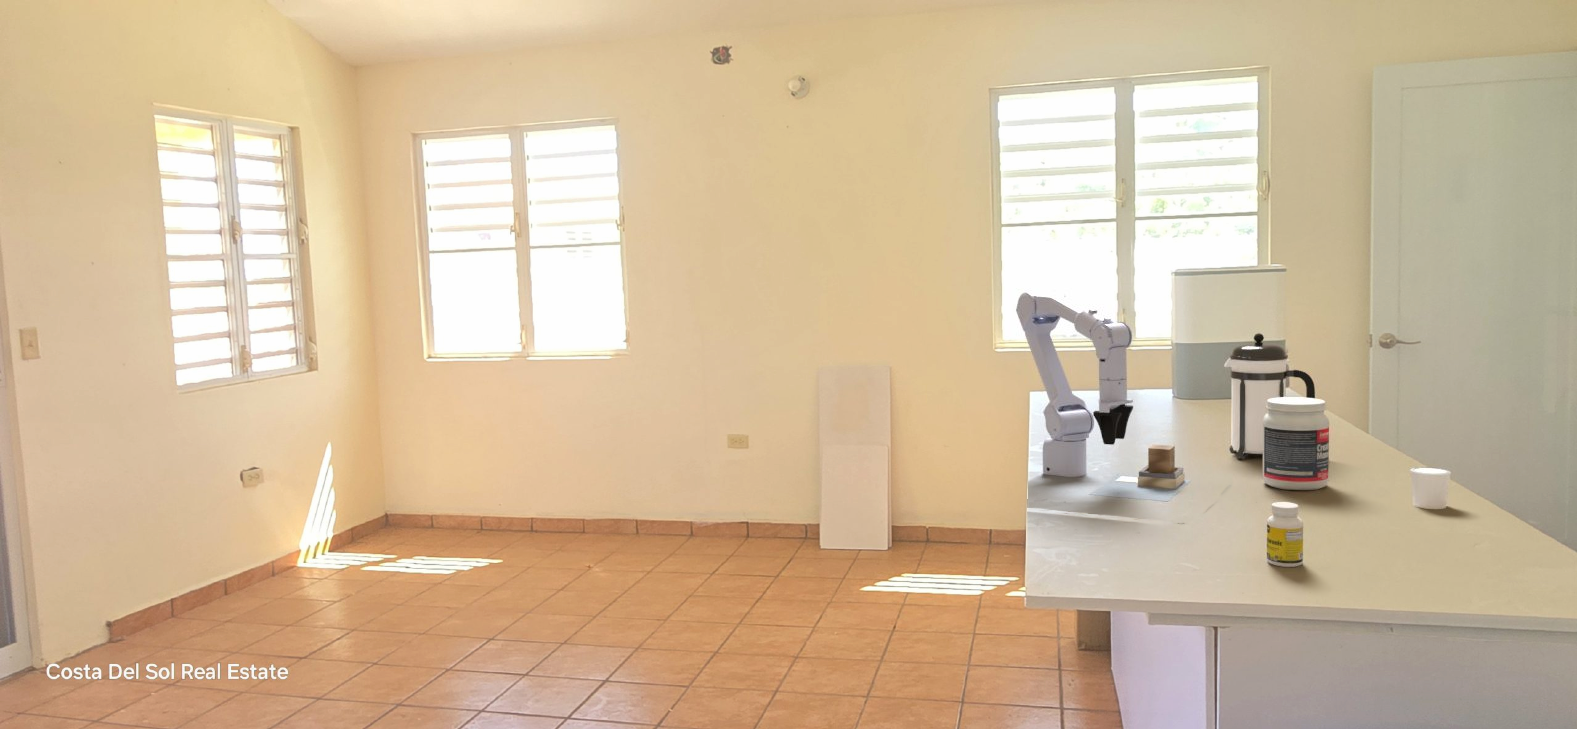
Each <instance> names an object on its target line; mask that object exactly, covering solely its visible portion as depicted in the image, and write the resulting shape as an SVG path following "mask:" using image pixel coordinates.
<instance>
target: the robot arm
mask: <svg viewBox="0 0 1577 729" xmlns="http://www.w3.org/2000/svg"><path fill="white" fill-rule="evenodd" d="M1015 311H1016V314H1017V317H1018V320H1019V322H1020V325H1021V328H1022V330H1023V331H1024V335H1025V338H1026V342H1027V344H1028V347H1029V349H1030V352H1031V355H1032V357H1033V360H1034V362H1035V366H1036V367H1037V370H1038V373H1039V376H1040V379H1041V380H1042V381H1041V382H1042V384H1043V387H1044V389H1045V392H1046V395H1047V397H1048V400H1049V402H1048V404H1047V405H1046V406H1045V407H1044V410H1043V412H1042V413H1043V415H1044V420H1045V429H1046V431H1047V433H1048V435H1049V436H1050V437H1046V438H1045V439H1044V441H1043V445H1042V475H1048V476H1051V475H1052V476H1061V477H1067V478H1068V477H1070V478H1071V477H1072V478H1074V477H1083V476H1086V475H1087V439H1089V438H1090V434H1091V433H1092V432H1093V429H1094V427H1095V420H1096V422H1097V425H1098V427H1099V430H1100V435H1101V438H1102V442H1103V445H1111V446H1113V445H1115V442H1116V439H1117V440H1119V439H1120V440H1124V439H1125V437H1126V432H1127V426H1128V422H1129V418H1130V415H1131V414H1132V412H1133V410H1134V405H1129V404H1132V403H1134V399H1133V398H1128V380H1127V379H1128V376H1127V374H1128V372H1127V366H1128V365H1127V348H1129V347H1130V345H1131V344H1132V340H1133V334H1132V330H1131V328H1130V326H1129V325H1128V324H1127V323H1126V322H1124V321H1117V322H1114V321H1112V319H1111V318H1110V317H1109V316H1108V317H1105V316H1103V315H1102V314H1100V313H1099V312H1098V310H1097V309H1096V308H1087V309H1082V308H1080V307H1079V306H1077V305H1075V304H1074V303H1073V302H1071V301H1070V300H1069V299H1067V297H1066V294H1064V293H1061V292H1060V291H1058V290H1052V291H1042V292H1041V291H1040V292H1023V293H1021V294H1020V296H1019V298H1018V300H1017V305H1016V308H1015ZM1061 318H1062V319H1064V320H1066V321H1067V322H1070V323H1072V324H1073V325H1074V329H1075V331H1076V332H1077V333H1079V334H1081V335H1082V336H1084V337H1086V338H1087V339H1089V340H1090V341H1092V345H1093V346H1094V348H1095V355H1096V357H1097V359H1098V384H1099V386H1098V387H1099V388H1098V391H1099V393H1098V394H1099V398H1098V410H1094V411H1093V412H1091V410H1090V409H1089V408H1088V407H1087V404H1086V402H1085V400H1083V399H1082V398H1080V397H1078V396H1077V395H1075V394H1074V393H1073V391H1072V389H1071V387H1070V386H1071V385H1070V384H1069V381H1068V379H1067V376H1066V374H1065V371H1064V368H1063V366H1062V362H1061V360H1060V358H1059V355H1058V353H1057V349H1056V348H1055V345H1054V341H1053V339H1052V337H1051V332H1052V331H1054V330H1055V329H1056V327H1057V325H1058V324H1059V321H1060V319H1061ZM1127 404H1128V405H1127Z"/></svg>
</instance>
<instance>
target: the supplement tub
mask: <svg viewBox="0 0 1577 729" xmlns="http://www.w3.org/2000/svg"><path fill="white" fill-rule="evenodd" d="M1266 408H1268V410H1269V412H1268V413H1267V414H1266V415H1265V416H1264V419H1263V454H1262V480H1263V482H1264V483H1265V484H1266V485H1268V486H1270V487H1273V488H1276V489H1281V490H1288V491H1289V490H1290V491H1314V490H1319V489H1322V488H1324V487H1326V486H1327V484H1329V473H1330V472H1329V467H1330V466H1329V465H1330V461H1329V460H1330V458H1329V457H1330V420H1329V418H1328V416H1327V415H1326V414H1325V410H1327V407H1326V401H1325V400H1324V399H1319V398H1315V399H1314V398H1306V397H1300V396H1299V397H1298V396H1297V397H1296V396H1295V397H1293V396H1286V397H1279V398H1271V399H1268V400H1267V406H1266Z"/></svg>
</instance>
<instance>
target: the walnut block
mask: <svg viewBox="0 0 1577 729" xmlns="http://www.w3.org/2000/svg"><path fill="white" fill-rule="evenodd" d="M1147 450H1148V451H1147V452H1148V455H1147V456H1148V462H1147V465H1148V472H1158V473H1174V472H1175V467H1176V465H1175V464H1176V463H1175V462H1176V460H1175V458H1176V455H1175V454H1176V453H1175V451H1176V450H1175V445H1164V444H1152V445H1150V446H1149V447H1148V449H1147Z"/></svg>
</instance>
